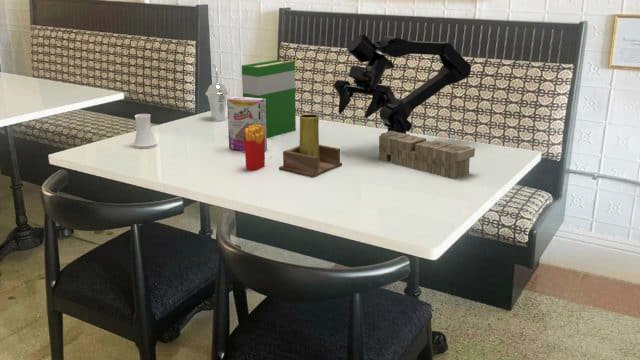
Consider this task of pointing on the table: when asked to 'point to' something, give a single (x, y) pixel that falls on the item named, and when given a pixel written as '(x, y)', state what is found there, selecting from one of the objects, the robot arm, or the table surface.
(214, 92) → the cup with straw
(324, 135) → the table surface
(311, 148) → the vase
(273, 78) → the hardback book
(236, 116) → the candy bar box
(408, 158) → the block tower
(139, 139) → the vase
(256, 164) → the french fries
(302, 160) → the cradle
